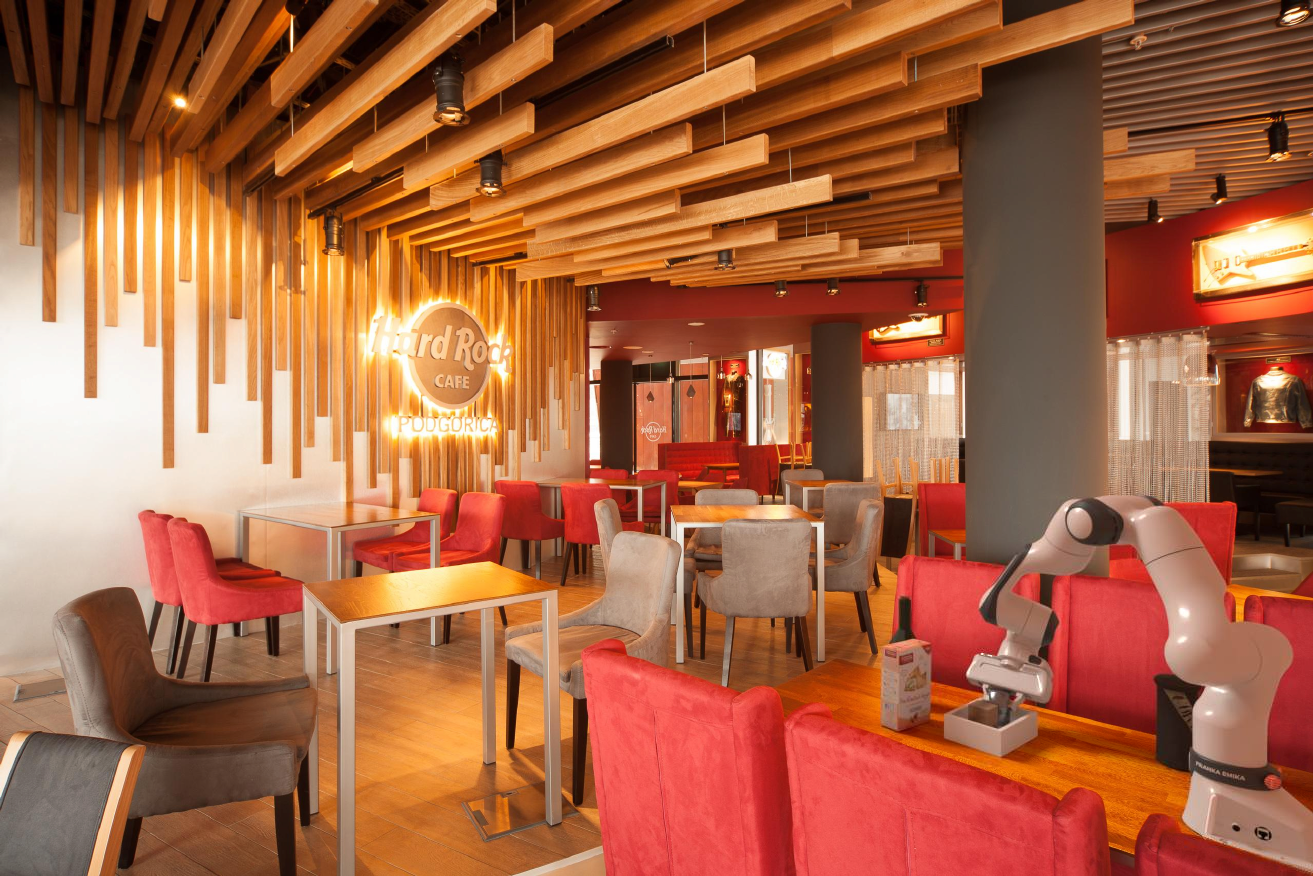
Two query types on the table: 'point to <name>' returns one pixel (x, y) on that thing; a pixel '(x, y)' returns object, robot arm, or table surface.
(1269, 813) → the robot arm
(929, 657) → the cracker box
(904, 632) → the wine bottle
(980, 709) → the walnut block
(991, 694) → the charcoal tin
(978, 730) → the box
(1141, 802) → the table surface
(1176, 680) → the container
